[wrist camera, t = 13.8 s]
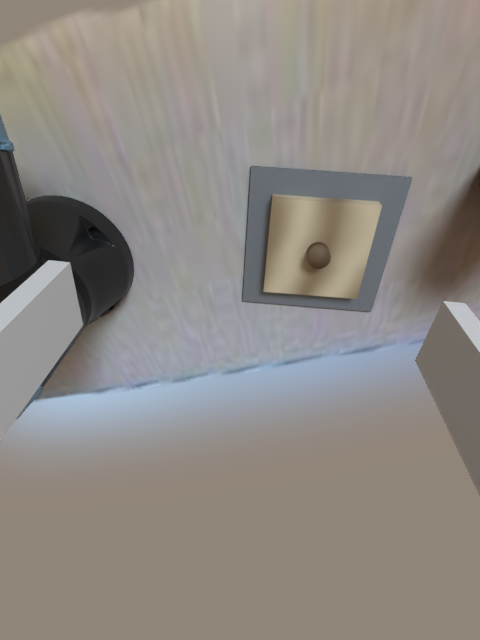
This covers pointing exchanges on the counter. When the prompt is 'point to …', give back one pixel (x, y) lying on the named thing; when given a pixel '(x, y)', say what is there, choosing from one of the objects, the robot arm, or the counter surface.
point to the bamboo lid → (319, 245)
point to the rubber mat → (325, 186)
